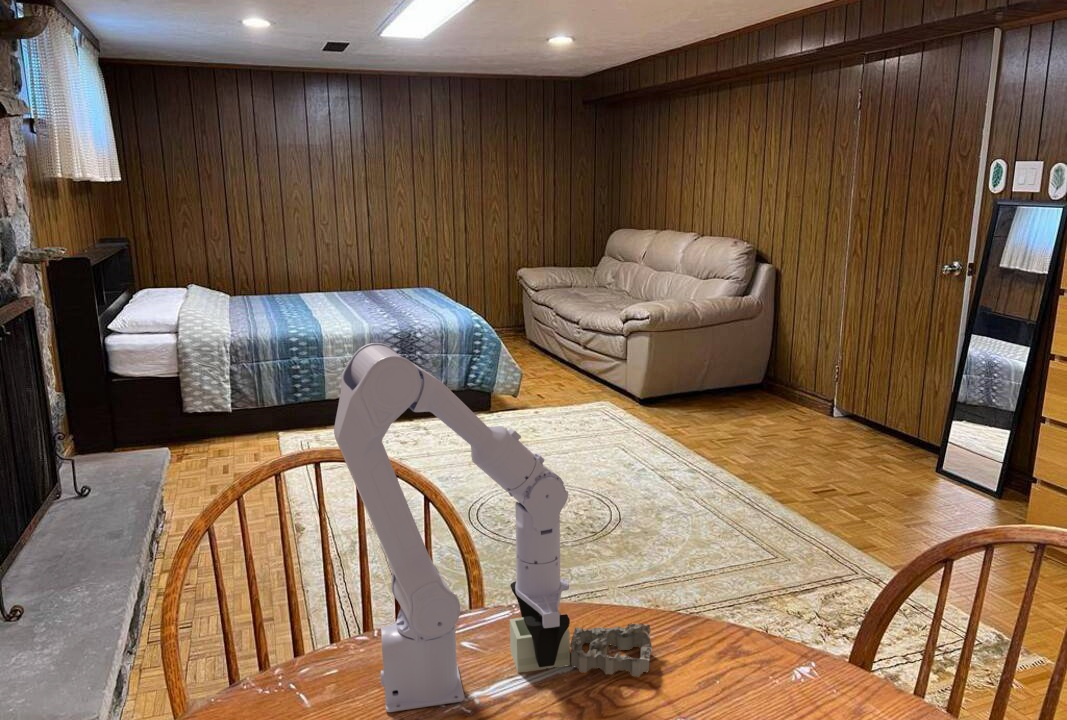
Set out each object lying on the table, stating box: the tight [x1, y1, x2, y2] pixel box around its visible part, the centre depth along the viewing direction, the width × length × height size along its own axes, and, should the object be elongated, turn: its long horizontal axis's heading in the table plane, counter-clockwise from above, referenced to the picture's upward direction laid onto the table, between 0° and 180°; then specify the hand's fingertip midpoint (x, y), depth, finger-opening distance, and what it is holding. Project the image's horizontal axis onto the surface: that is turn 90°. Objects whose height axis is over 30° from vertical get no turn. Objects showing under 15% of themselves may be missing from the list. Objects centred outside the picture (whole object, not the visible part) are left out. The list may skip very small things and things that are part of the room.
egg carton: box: [570, 623, 653, 678], centre depth 105 cm, size 11×8×4 cm
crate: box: [509, 612, 571, 674], centre depth 105 cm, size 7×5×5 cm
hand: (539, 648), depth 106 cm, fingers open, 7 cm apart
